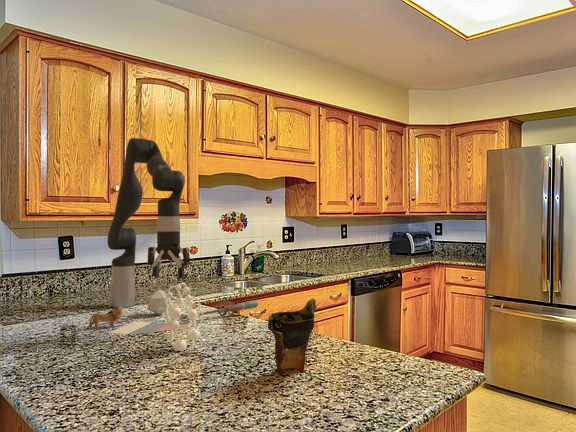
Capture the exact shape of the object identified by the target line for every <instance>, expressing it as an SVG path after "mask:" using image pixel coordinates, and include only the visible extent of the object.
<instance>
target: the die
mask: <svg viewBox="0 0 576 432" xmlns="http://www.w3.org/2000/svg"><path fill="white" fill-rule="evenodd" d="M167 293H168V292H165V291H163V290H161V289H158V290H155V292H153V293H151V294H149V295H148V296H147V297H148V298H147V300H148V301H147V310H149V311H150V312H153V313H155V314H156V315H158V316H161V315H162V314H165V309H166V305H165V302H164V301H165V298H166V294H167ZM171 300H172V298H167V300H166V303H168V302H172V301H171ZM170 309H171V308H168V311H170Z"/></svg>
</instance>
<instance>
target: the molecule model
mask: <svg viewBox="0 0 576 432" xmlns="http://www.w3.org/2000/svg"><path fill="white" fill-rule="evenodd" d="M181 285H184V287H183V289H182V286H181ZM173 288H174V289H175V291H176V292H177V296H178V297H176V296H174V294H173V293H172V292H171V289H173ZM181 290H182V293H181ZM166 293H167V294H166V298H165V301H164V302H165V305H166V309H165V312H164V314H165V318H166V321H167V322H166V323H169V325H170V328H171V330H170V331H169V332H170V333H169V337H170V338H169V343H170V345H171V346H172V349H173V350H174V352H177V351H181V352H184V350H185V351H186V350H187V342H186V341H185V340H184V339H182V338H179V339H177V340H175V341H174V342H173V340H174V336H176V335H177V334H180V330H178V328H179V324H180V321H178V320H177V319H180V317H182V316H181V315H184V316H185V315H187V316H186V317H188V318H187V319H191V320H190V321H188V323H189V324H188V325H186V327H187V330H186V335H187V336H186V337H187V338H188V339H189V340H190V341H196V340H197V339H198V338H199V337H200V335H201V332H200V331H199V328H200V326H201V324H202V322H203V320H204V316H205V315H204V314H203V313H204V310H202V308H201V301H200V299H199V298H198V297H197V296H191V288H190V287H188V286H187V283H185V282H180V283H179V284H176V285H172V286H171V285H170V286H169V287H168V291H167V292H166ZM186 293H188V294H187V295H186V296H185V294H186ZM184 296H185V297H184ZM167 298H171V299H172V300H175V301H173V302H172V301H171V302H168V303H166V300H167ZM192 299H196V301H198V302H197V303H198V307H196V308H193V306H194V304H195V303H194V301H193V300H192ZM184 301H187V306H189V309H188V308H187V306H185V305H184ZM173 305H177V306H173ZM180 307H182V308H183V309H184V310H185V312H187V313H185V312H183V311H182V310H181V308H180ZM168 308H170V309H169V310H168ZM197 310H198V312H197ZM200 313H202V315H201V319H200V321H199V322H198V323H199V324H198V326H197V327H196V324H197V322H196V318H197V317H199V316H198V315H199V314H200ZM170 319H171V320H170ZM192 324H193V325H192ZM179 329H180V328H179ZM175 331H176V332H175Z"/></svg>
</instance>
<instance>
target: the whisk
mask: <svg viewBox="0 0 576 432" xmlns="http://www.w3.org/2000/svg"><path fill="white" fill-rule="evenodd" d="M222 304H223V305H224V307H221V306H222ZM227 304H230V305H228V306H227ZM258 306H259V301H258V300H255V299H253V300H250V301H249V300H248V301H245V302H244V301H243V302H241V303H237V304H234V303H233V302H231V301H230V300H223V301H221V302H220V303H219V304H218V308H217V309H215V310H211V311H205V312H204V311H203V314H204V316H205V315H210V314H214V313H217V314H219V315H220V316H221V317H222V318H223V319H226V318H225V317H226V314H227V313H228V316H227V317H230V318H232V316H233V315H234V314H235V311H236V312H237V311H242V310H251V309H256V308H257V307H258ZM231 312H232V313H231ZM184 313H187V311H185V312H184ZM200 316H202V313H201V312H200V314H199V315H198V316H197V317H200ZM179 320H180V321H181V322H183V323H184V322H190V321H192V319H189V318H188V317H187V315H182V314H181V316H180V317H179Z"/></svg>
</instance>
